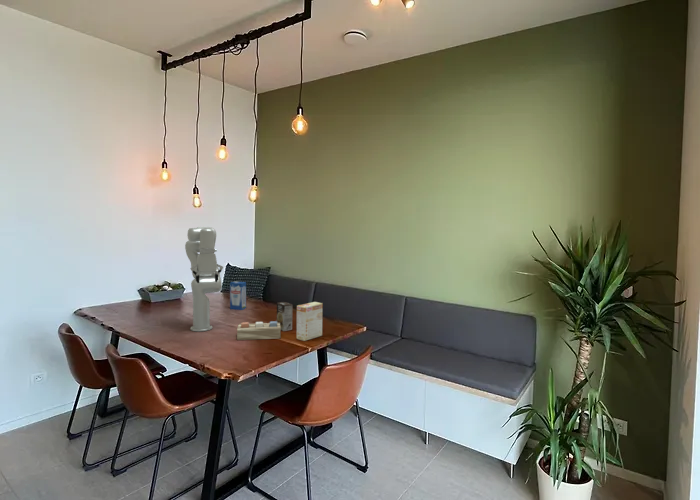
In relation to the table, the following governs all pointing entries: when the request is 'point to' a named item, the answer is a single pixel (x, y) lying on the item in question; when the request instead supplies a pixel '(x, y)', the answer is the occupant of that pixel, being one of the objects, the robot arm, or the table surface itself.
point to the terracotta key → (245, 325)
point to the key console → (258, 332)
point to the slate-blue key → (273, 324)
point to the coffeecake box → (309, 321)
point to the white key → (259, 324)
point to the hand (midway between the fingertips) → (207, 282)
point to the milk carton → (238, 295)
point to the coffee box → (284, 315)
